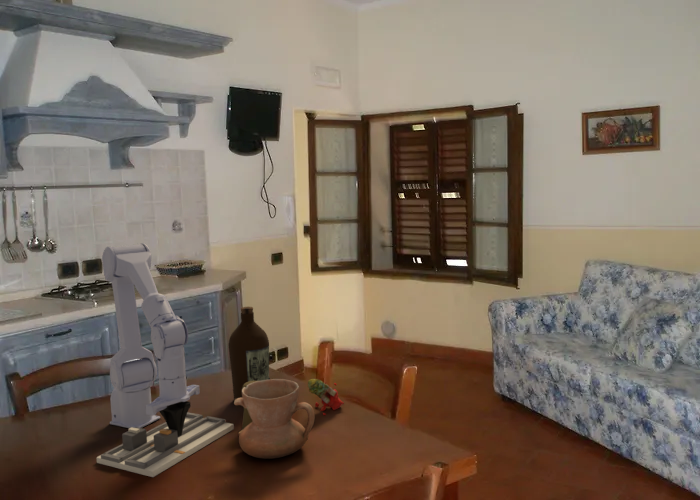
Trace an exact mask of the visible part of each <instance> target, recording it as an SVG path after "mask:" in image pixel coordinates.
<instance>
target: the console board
mask: <svg viewBox="0 0 700 500" xmlns="http://www.w3.org/2000/svg"><path fill="white" fill-rule="evenodd" d="M161 429H169V428H168V425H167V423H166V421H165V422H163V423H161V424H159V425H157V426H155V427H152V428H151V429H150V430H148V431H147V430H146V434H147V443H145V444H144V445H142V446H140V447H138V448H136V449H134V450H132V451H129V450H125V449H123V443H121V444H120V445H117V446H115V447H113V448H111V449H109V450H108V451H107V450H106V451H105V452H104V453H102V454H100V455H98V456H97V457H96V463H97V464H100V465H104V466H107V467H108V466H109V467H112V468H116V469H119V470H124V471H126V472H131V473H135V474H139V475H143V476H148V477H151V478H154V477H157V476H158V475H159V474H161V473H162V472H164V471H166V470H167V469H170V468H171V467H172V466H175V465H177V464H178V463H179V462H181V461H182V460H184V459H186V458H188V457H189V456H191V455H192V454H194V453H196V452H198V451H199V450H201V449H203V448H204V447H207V446H208V445H209V444H211V443H213V442H214V441H216V440H218V439H219V438H221V437H223V436H224V435H226V434H228V433H229V432H231V431H233V430H234V429H235V426H234V423H230V422H226V418H220V417H214V416H209V415H207V416H205V417H203V414H199V413H193V412H189V411H188V412H187V415H186V418H185V421H184V426H183V431H182V435H181V436H179V437H178V445H176V446H174V447H172V448H170V449H169V450H167V451H165V452H159V451H155V449H154V435H155V434H157V433H159V432H160V431H159V430H161Z"/></svg>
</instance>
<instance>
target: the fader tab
mask: <svg viewBox="0 0 700 500" xmlns="http://www.w3.org/2000/svg"><path fill="white" fill-rule="evenodd" d="M159 431H160V432H159V433H157V434H155V435H154V449H155V451H159V452H165V451H167V450H169V449H170V448H172V447H174V446H176V445H178V434H177V430H172V429H161V430H159Z"/></svg>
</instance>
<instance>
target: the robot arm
mask: <svg viewBox="0 0 700 500" xmlns="http://www.w3.org/2000/svg"><path fill="white" fill-rule="evenodd" d="M101 261H102V269H103V275H104V279H105V281H106V282H109V283H111V287H112V291H113V298H114V299H113V300H114V307H115V316H116V324H117V331H118V336H119V346H120V348H119V350H118V351H117V352H116V353H115V354H114V355H112V357H111V358H110V361H109V364H110V369H109V378H110V382H111V384H112V386H113V390H112V392H111V394H110V412H111V421H109V424H110V425H113V426H117V427H122V428H127V429H129V428H131V427H133V428H136V427H138V428H142V429H143V427H146V426H147V425H150V424H151V423H153V422H156V421H158V420H159V419H161V416H162V417H163V419H164V421H165V422H166V423H167V425H168V428H169V429H172V430H177V434H178V437H179V436H181V435H182V431H183V426H184V421H185V418H186V415H187V412H189V411H190V410H189V409H190V408H191V407H192V406H191V401H189V400H190V399H191V397H192V396H194V395H195V396H197V395H199V394H200V393H201V392H200V391H201V390H200V385H198V384H191V385H188V386H187V375H186V358H185V345H186V344H188V341H189V330H188V327H187V324H186V322H185V321H184V319H183V318H180V316H179V315H175V312H174V311H173V308H172V306H171V305H170V302H169V300H168V299H167V296H166V295H165V294H162V293H159V291H158V288H157V286H156V283H155V280H154V277H153V275H152V272H151V267H152V251H151V249H150V247H149V246H148V245H147V244H146V243H144V242H142V243H140V244H139V243H137V244H126V245H119V246H118V245H117V246H106V247H105V248H104V249H103V252H102V256H101ZM135 289H136V290H137V292H138V294H139V295H140V297H141V298H142V300H143V301H142V302H141V307H140V308H141V310H142V312H143V314H144V316H145V318H146V321H147V323H148V325H149V327H150V329H151V332H150V341H151V344H152V347H153V352H152V351H151V350H149V349H147V348H145V347H144V346H143V344H142V337H141V329H140V320H139V314H138V307H137V300H136V291H135ZM153 353H154V355H153ZM154 357H156V359H157V364H156V362H155V358H154ZM157 376H158V387H159V396H158V397H156V398H155V399H154V400H153V401H152V393H151V387H152V386H153V385H154V382H155V381H156V379H157ZM157 413H159V414H161V416H160V415H157Z"/></svg>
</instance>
